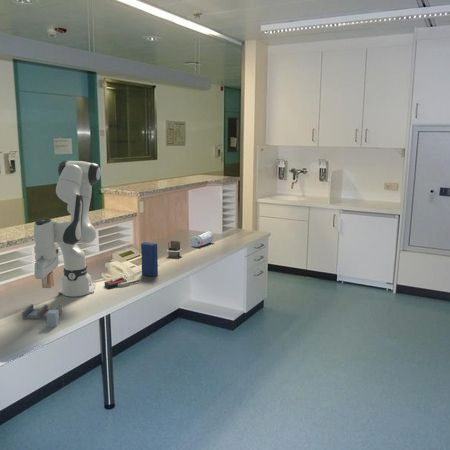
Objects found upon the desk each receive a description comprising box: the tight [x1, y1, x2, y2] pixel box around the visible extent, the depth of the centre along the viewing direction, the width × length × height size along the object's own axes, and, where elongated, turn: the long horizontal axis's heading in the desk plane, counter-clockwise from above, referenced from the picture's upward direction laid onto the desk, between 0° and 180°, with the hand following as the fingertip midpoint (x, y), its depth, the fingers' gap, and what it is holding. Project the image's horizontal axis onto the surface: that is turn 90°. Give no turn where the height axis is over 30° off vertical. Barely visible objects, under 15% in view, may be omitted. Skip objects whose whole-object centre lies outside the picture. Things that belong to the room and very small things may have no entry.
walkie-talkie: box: [104, 276, 141, 289], centre depth 265 cm, size 9×4×20 cm
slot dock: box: [21, 304, 63, 321], centre depth 219 cm, size 10×15×4 cm, turn 90°
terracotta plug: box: [41, 271, 55, 289], centre depth 216 cm, size 4×4×6 cm
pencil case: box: [190, 231, 215, 248], centre depth 359 cm, size 21×9×10 cm, turn 147°
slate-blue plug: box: [46, 310, 60, 328], centre depth 208 cm, size 4×4×6 cm
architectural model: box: [166, 240, 183, 259], centre depth 324 cm, size 19×17×11 cm
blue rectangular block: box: [140, 241, 159, 277], centre depth 282 cm, size 10×5×20 cm, turn 62°
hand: (47, 281), depth 216 cm, fingers closed on terracotta plug, 4 cm apart
